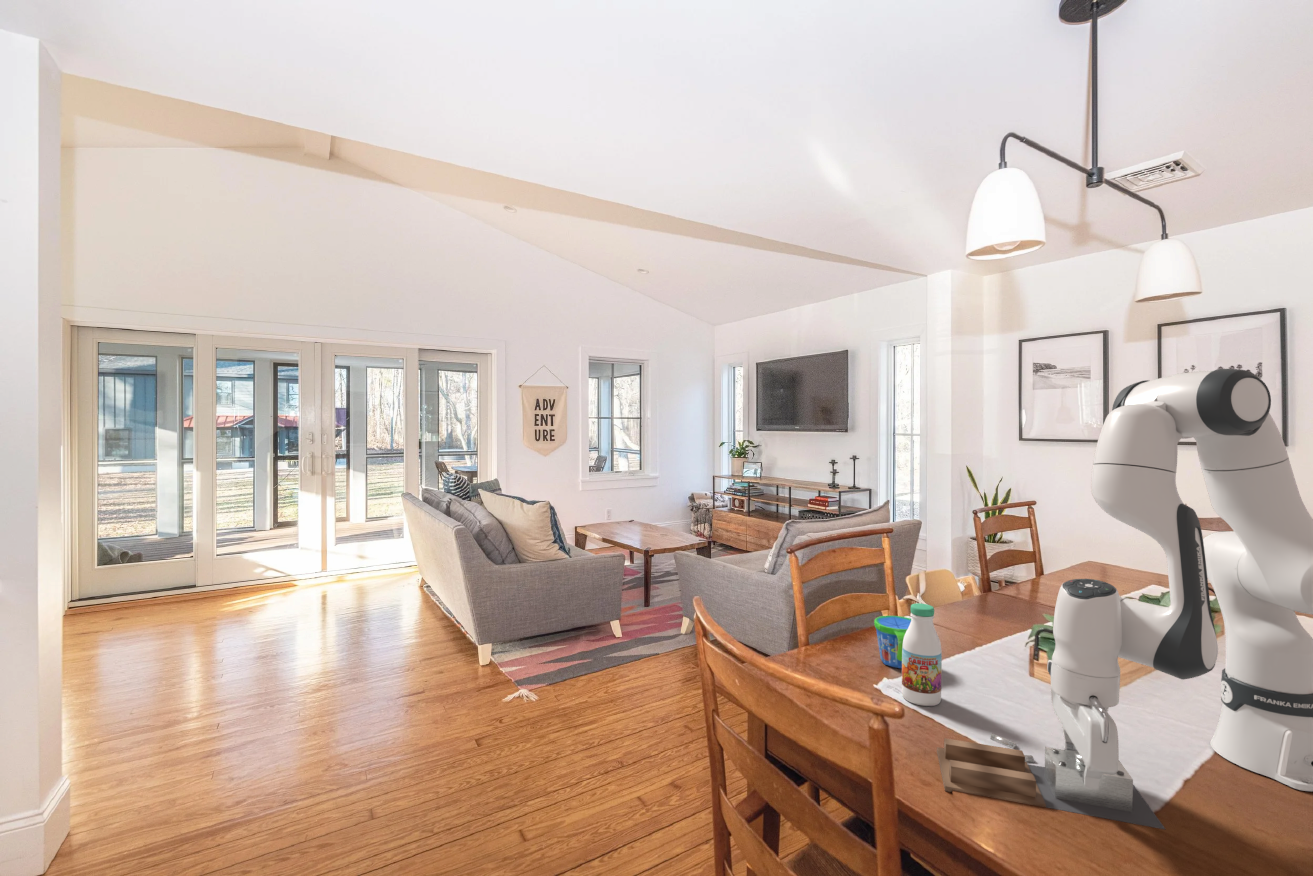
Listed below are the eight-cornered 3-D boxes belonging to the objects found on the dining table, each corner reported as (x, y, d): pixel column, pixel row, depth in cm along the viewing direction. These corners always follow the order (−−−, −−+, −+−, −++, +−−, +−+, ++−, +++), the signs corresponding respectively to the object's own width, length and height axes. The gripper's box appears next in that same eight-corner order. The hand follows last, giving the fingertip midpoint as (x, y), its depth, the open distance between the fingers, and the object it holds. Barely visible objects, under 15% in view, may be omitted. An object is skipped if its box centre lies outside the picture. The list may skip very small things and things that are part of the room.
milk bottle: (896, 690, 132) (897, 600, 131) (931, 690, 132) (933, 600, 131) (909, 707, 124) (911, 611, 124) (947, 707, 124) (949, 612, 123)
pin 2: (1029, 759, 105) (1031, 753, 105) (1033, 766, 104) (1034, 760, 104) (1005, 757, 106) (1006, 752, 105) (1008, 765, 105) (1010, 759, 104)
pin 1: (1017, 743, 109) (1014, 742, 108) (1015, 751, 109) (1012, 750, 108) (994, 734, 112) (991, 733, 112) (992, 741, 112) (989, 740, 111)
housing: (1116, 788, 97) (1117, 752, 96) (1132, 812, 91) (1133, 773, 91) (1044, 776, 100) (1045, 741, 100) (1055, 798, 94) (1056, 760, 94)
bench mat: (1131, 784, 98) (1131, 781, 98) (1165, 832, 87) (1165, 829, 87) (1019, 765, 104) (1019, 763, 104) (1038, 808, 92) (1038, 805, 92)
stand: (1026, 766, 103) (1026, 747, 103) (1045, 809, 92) (1046, 788, 92) (936, 751, 108) (937, 733, 108) (944, 791, 97) (945, 770, 97)
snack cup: (873, 648, 156) (873, 609, 155) (917, 653, 152) (918, 614, 152) (874, 673, 141) (875, 630, 140) (923, 679, 137) (924, 635, 137)
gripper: (1134, 718, 84) (1130, 814, 85) (1087, 662, 103) (1083, 741, 104) (1081, 710, 86) (1077, 804, 87) (1044, 657, 106) (1041, 734, 106)
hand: (1080, 769), depth 96 cm, fingers open, 8 cm apart
